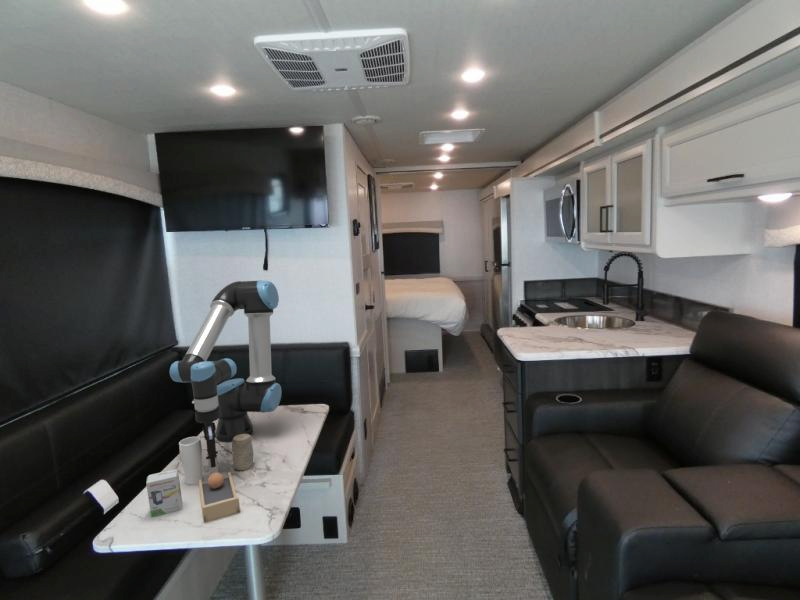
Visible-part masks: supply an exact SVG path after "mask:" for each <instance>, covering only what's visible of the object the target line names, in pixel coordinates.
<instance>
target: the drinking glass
mask: <svg viewBox="0 0 800 600" xmlns="http://www.w3.org/2000/svg"><path fill="white" fill-rule="evenodd" d="M178 446H179V447H178V449H179V456H180V461H181V465H182V470H183V473H184V479H185V484H186V485H187V486H188V485H189V486H192V485H193V486H194V485H197V484H199V480H200V479H201V481H203V479H204V478H203V477H204V476H203V450H202V441H201V437H199V436H188V437H186V438H185V437H184V438H183V439H181V440H180V441H179V442H178Z"/></svg>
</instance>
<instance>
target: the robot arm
mask: <svg viewBox="0 0 800 600" xmlns="http://www.w3.org/2000/svg"><path fill="white" fill-rule="evenodd" d="M279 299H280V298H279V292H278V289H277V287H276V286H275V284H274V283H273V282H272V281H269V280H261V279H260V280H243V281H241V280H240V281H237V280H236V281H234V282H231V283H229V284H227V285H226V286H224V287H223V288H222V289H220V291H219V292H217V294H216V295H215V296H214V297H213V300H212V301H211V302H210V310H209V311H208V313H207V315H206V317H205V319H204V320H203V322H202V324H201V326H200V328H199V330H198V332H197V333H196V335H195V337H194V338H193V341H192V342H191V344H190V346H189V348H188V350H187V351H186V353H185V355H184V356H183V357H182V360H176V361H174V362H173V363H171V365H170V367H169V376H170V379H171V380H172V381H173V382H176V383H185V384H186V383H191V387H192V394H193V395H192V397H193V400H192V401H191V404H193V405H194V410H195V411H194V416H195V421H196V423H199V424H202V425H201V426H202V432H203V436H204V440H205V443H206V452H207V456H206V457H205V460H207V462H208V469H209V471H208V472H209V476H210V475H211V474H213V473H216V472H218V473H219V467H218V454H219V451H218V450H217V448H216V447H217V446H216V441H219V442H227V443H230V442H231V443H232V440H233V438H234V437H235V436H237V435H239V434H249V435H250V436H252V435H253V433H254V431H255V430H254V425H253V423H252V421H251V419H250V417H249V414H248V413H263V414H264V413H272V412H274V411H276V409H277V408H278V406H279V404H280V402H281V399H282V392H283V391H282V387H281V385H280V383H278V382H276V381H277V380H276V377H275V376H274V375H273V374H272V350H271V349H272V348H271V347H272V345H271V344H272V343H271V316H272V315H273V314H274V310H275V309H276V308H277V307H278V306H279V301H280V300H279ZM238 310H243V314H244V315H245V316H246V317H247V321H248V351H249V353H248V356H249V359H248V361H249V376H248V377H247V379H246V380H245V379H244V378H242V377H241V378H240V377H239V378H233V377H234V376H235V375H236V374H237V371H238V370H237V369H238V368H237V364H236V363H235V361H233V360H232V359H231V358H228V357H227V358H221V359H219V360H211V361H210V360H208V359H209V357H210V355H211V352H212V350H213V349H214V347H215V345H216V343H217V342H218V339H219V336H220V335H221V334H222V331H223V329H224V328H225V326H226V324H227V322H228V321H229V320H228V319H229V318H230V317H232V316H234V314H235V312H236V311H238ZM232 378H233V379H232ZM215 421H217V425H216V424H215V423H216V422H215Z"/></svg>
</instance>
